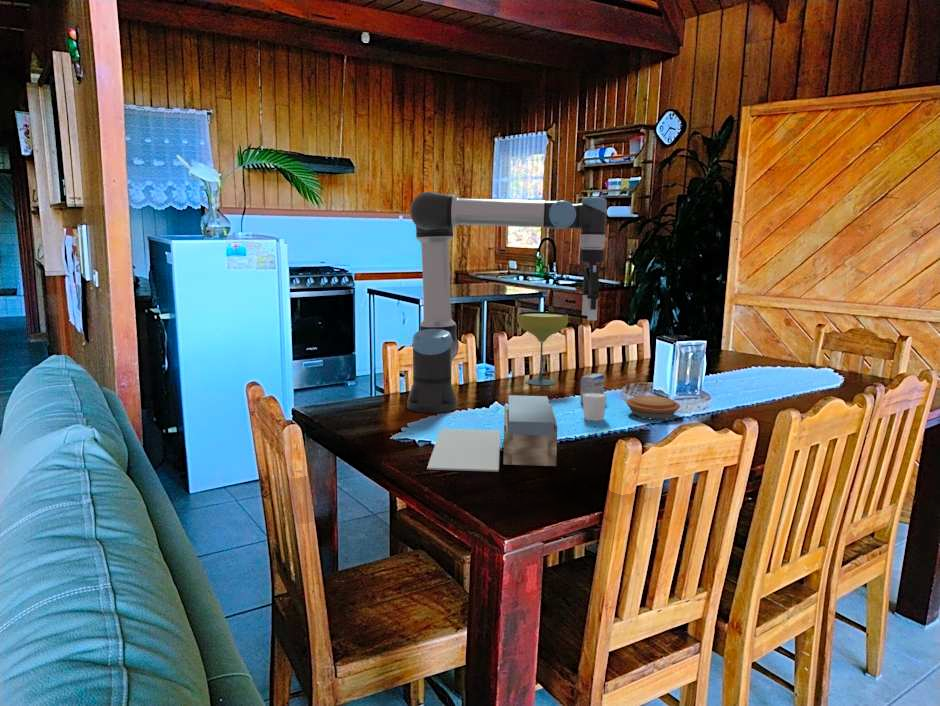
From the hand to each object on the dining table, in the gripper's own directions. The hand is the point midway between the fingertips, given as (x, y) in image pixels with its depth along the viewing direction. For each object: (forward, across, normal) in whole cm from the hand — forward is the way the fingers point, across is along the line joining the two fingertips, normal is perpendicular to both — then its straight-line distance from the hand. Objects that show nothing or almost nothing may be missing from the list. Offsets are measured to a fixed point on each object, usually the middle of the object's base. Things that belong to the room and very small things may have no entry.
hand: (589, 317), depth 213 cm
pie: (+27, -14, -18) cm, 36 cm away
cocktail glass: (+28, +30, +12) cm, 42 cm away
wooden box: (+27, -53, +20) cm, 63 cm away
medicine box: (+27, +2, -2) cm, 28 cm away
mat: (+27, -52, +36) cm, 68 cm away
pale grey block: (+19, -53, +20) cm, 60 cm away
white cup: (+27, -19, 0) cm, 34 cm away
